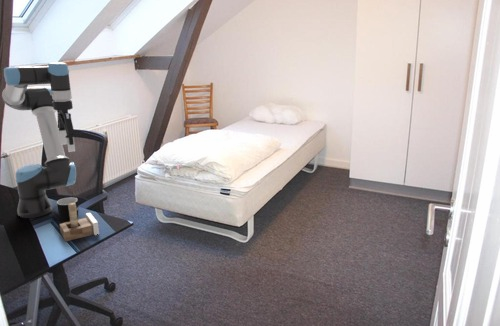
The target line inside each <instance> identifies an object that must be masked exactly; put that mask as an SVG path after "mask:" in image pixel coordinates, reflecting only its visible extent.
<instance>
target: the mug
mask: <svg viewBox="0 0 500 326" xmlns="http://www.w3.org/2000/svg"><path fill="white" fill-rule="evenodd" d="M70 203H76V210H77V219H78V218H79V200H78V198H77V197H74V196H73V197H72V196H70V197H64V198H60V199H58V200H57V201H56V206H57V211H58V216H59V218H60V220H61V223H65V222H70V215H69V207H68V204H70Z"/></svg>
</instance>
